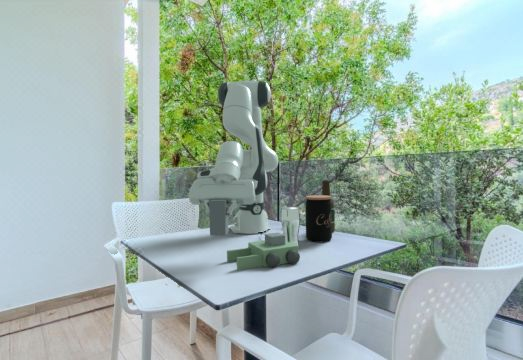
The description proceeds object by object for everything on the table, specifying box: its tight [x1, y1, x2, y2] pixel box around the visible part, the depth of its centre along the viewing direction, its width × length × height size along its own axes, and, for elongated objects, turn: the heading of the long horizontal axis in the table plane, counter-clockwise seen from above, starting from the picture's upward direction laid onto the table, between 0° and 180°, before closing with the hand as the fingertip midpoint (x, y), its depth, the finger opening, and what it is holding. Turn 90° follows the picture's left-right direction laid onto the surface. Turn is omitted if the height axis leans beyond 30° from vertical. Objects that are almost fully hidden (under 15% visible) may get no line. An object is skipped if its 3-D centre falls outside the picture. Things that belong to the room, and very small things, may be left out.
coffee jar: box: [305, 194, 333, 243], centre depth 130 cm, size 11×11×18 cm
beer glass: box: [280, 206, 301, 249], centre depth 117 cm, size 7×7×15 cm
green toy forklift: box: [226, 232, 301, 271], centre depth 101 cm, size 16×20×8 cm
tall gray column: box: [209, 199, 229, 237], centre depth 91 cm, size 4×4×10 cm
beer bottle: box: [321, 179, 336, 233], centre depth 146 cm, size 8×8×24 cm
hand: (218, 214), depth 90 cm, fingers closed on tall gray column, 5 cm apart
